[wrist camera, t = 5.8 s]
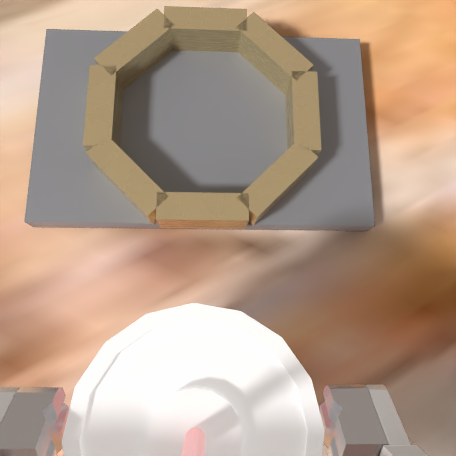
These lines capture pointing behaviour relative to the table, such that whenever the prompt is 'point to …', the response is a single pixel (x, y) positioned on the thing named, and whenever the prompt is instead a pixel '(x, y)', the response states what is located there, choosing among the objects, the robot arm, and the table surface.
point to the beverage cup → (194, 391)
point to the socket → (213, 42)
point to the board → (199, 135)
